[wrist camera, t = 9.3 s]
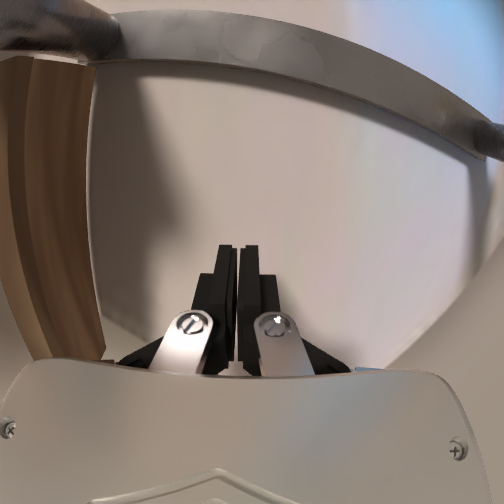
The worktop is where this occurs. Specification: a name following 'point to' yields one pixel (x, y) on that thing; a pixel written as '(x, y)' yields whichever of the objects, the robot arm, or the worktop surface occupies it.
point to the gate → (47, 206)
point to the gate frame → (248, 58)
